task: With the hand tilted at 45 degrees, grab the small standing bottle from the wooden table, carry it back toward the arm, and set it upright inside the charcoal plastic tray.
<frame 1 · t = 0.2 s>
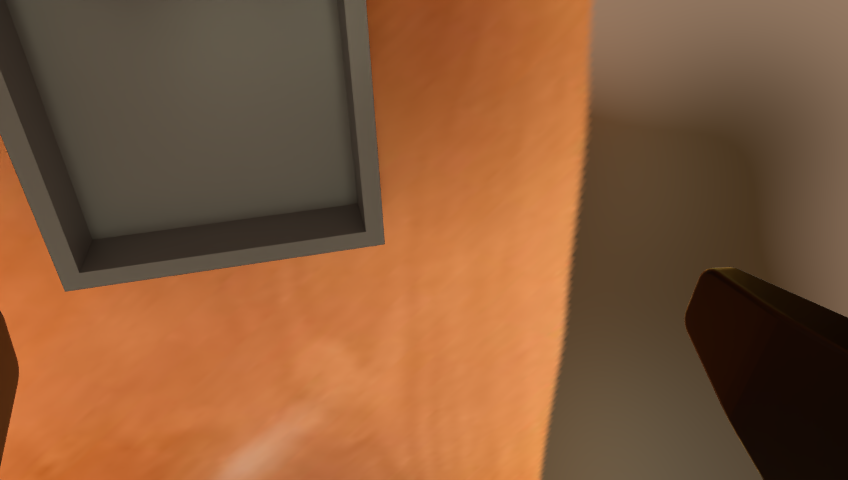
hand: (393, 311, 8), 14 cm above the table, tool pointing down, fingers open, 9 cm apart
charcoal tray: (202, 91, 21), on the table
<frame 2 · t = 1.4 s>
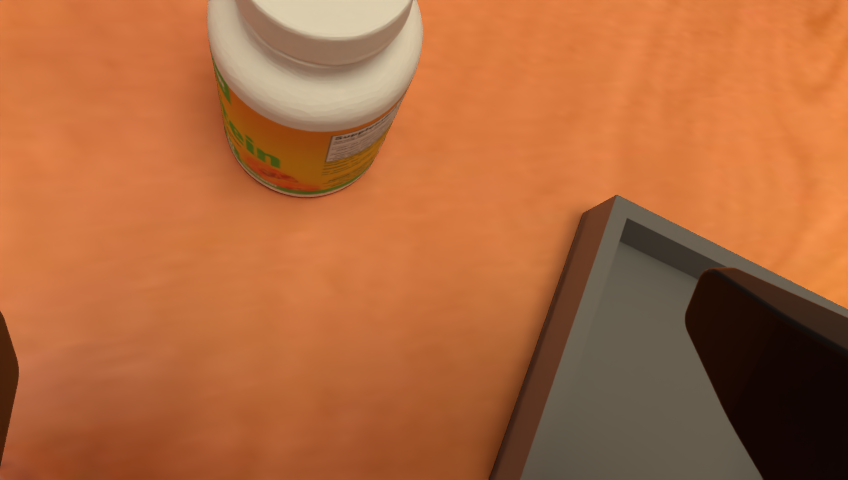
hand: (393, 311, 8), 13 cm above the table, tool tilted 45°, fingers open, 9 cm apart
charcoal tray: (662, 395, 24), on the table
supplement bottle: (304, 128, 23), on the table
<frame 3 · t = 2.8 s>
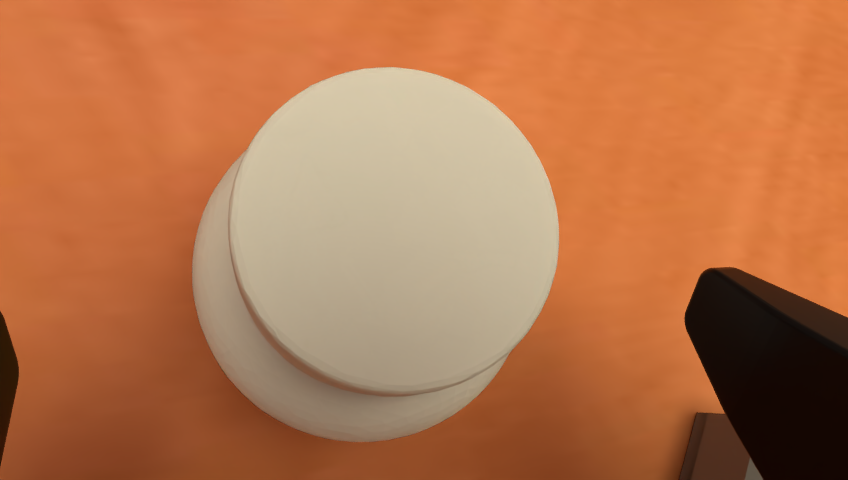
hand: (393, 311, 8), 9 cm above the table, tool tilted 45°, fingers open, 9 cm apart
supplement bottle: (330, 314, 17), on the table
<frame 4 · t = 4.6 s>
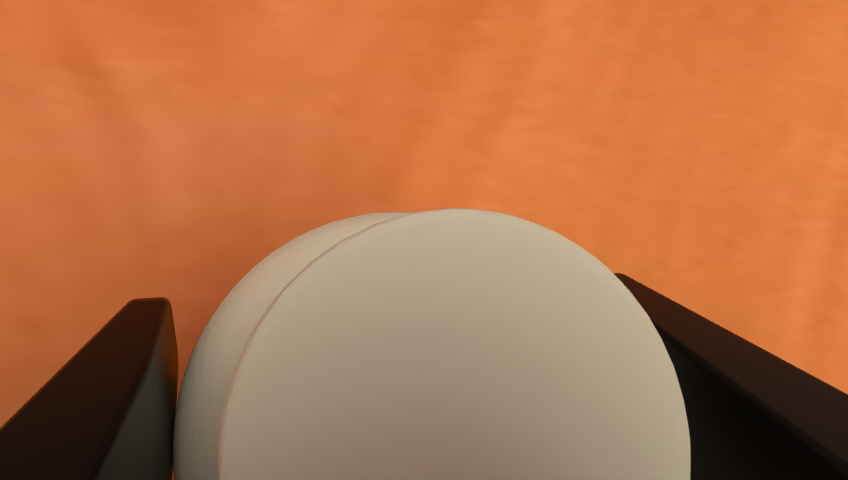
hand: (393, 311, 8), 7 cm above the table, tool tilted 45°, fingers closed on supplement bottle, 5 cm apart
supplement bottle: (343, 405, 15), on the table, touching gripper
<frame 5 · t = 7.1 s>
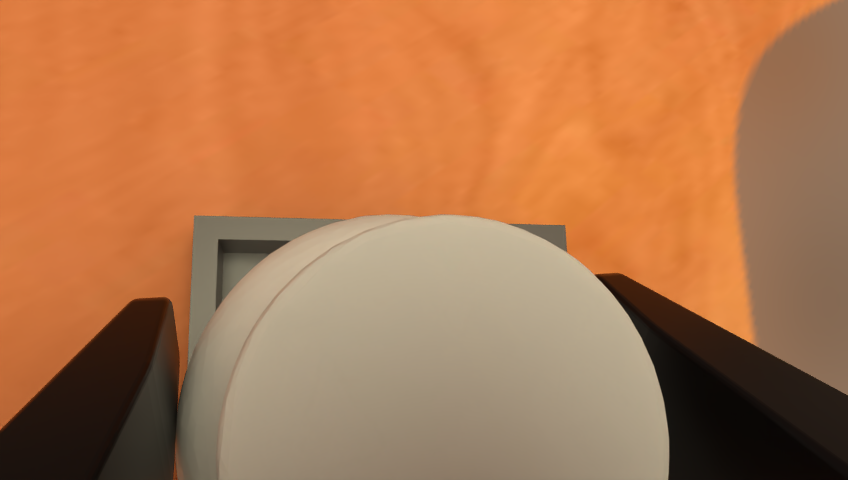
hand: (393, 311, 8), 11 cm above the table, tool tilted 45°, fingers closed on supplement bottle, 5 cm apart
charcoal tray: (379, 408, 19), on the table
supplement bottle: (342, 401, 15), point 4 cm above the table, touching gripper
when the fingers open (8 cm above the table, at t = 8.8 s): supplement bottle stays where it is, resting on charcoal tray.
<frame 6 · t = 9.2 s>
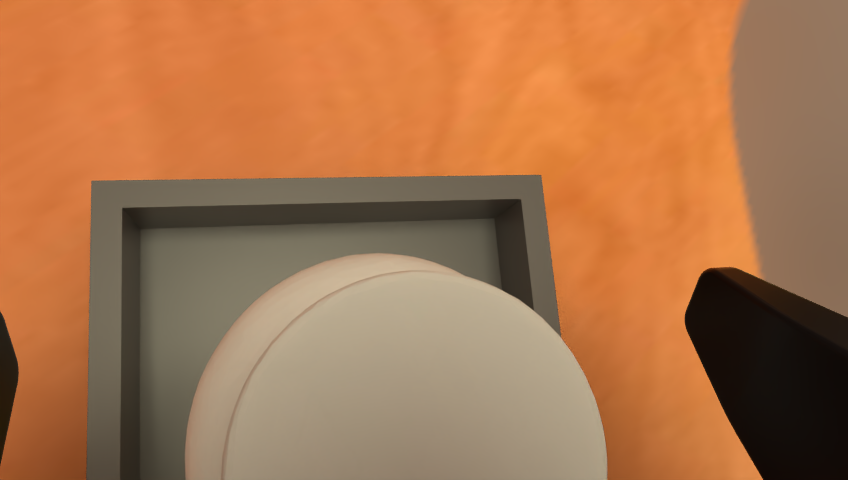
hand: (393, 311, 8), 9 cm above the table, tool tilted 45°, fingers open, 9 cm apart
charcoal tray: (336, 402, 16), on the table
supplement bottle: (338, 410, 16), resting on charcoal tray
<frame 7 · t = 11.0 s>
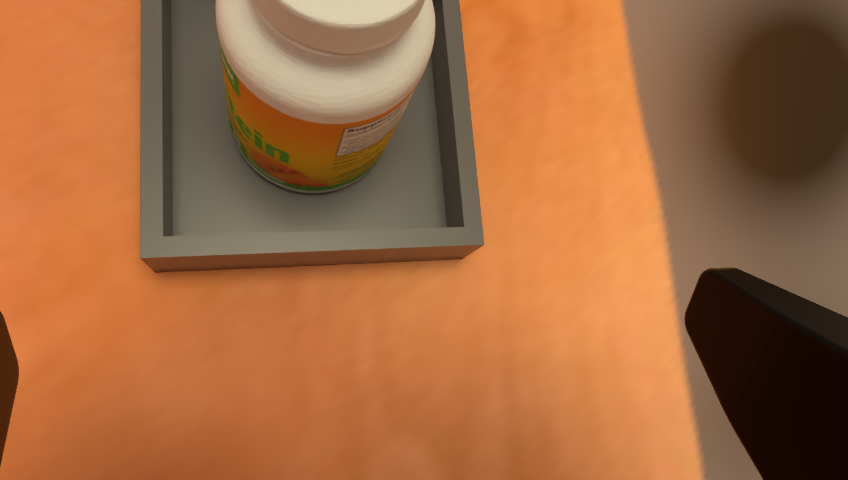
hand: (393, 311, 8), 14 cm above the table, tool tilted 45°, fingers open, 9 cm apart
charcoal tray: (309, 122, 23), on the table
supplement bottle: (310, 123, 23), resting on charcoal tray
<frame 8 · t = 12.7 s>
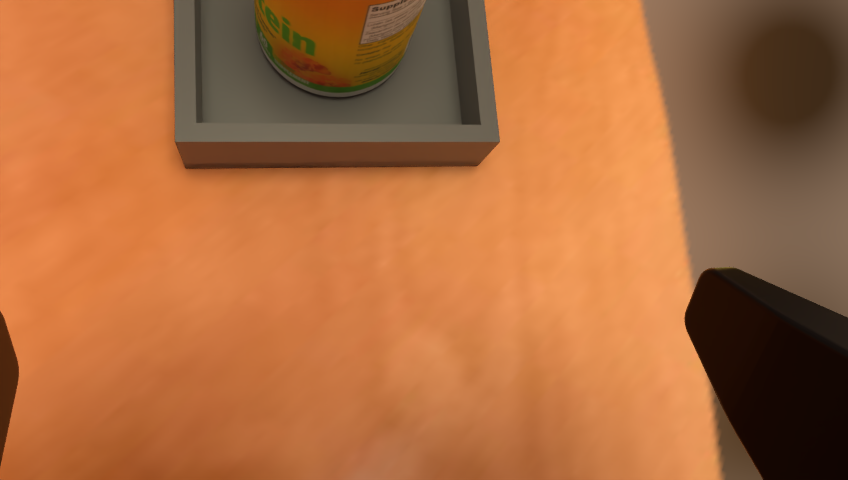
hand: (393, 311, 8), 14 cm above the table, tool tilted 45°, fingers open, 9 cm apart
charcoal tray: (331, 34, 24), on the table
supplement bottle: (332, 34, 24), resting on charcoal tray
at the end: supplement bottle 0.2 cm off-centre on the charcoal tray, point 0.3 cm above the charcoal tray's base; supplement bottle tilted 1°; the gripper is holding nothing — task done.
